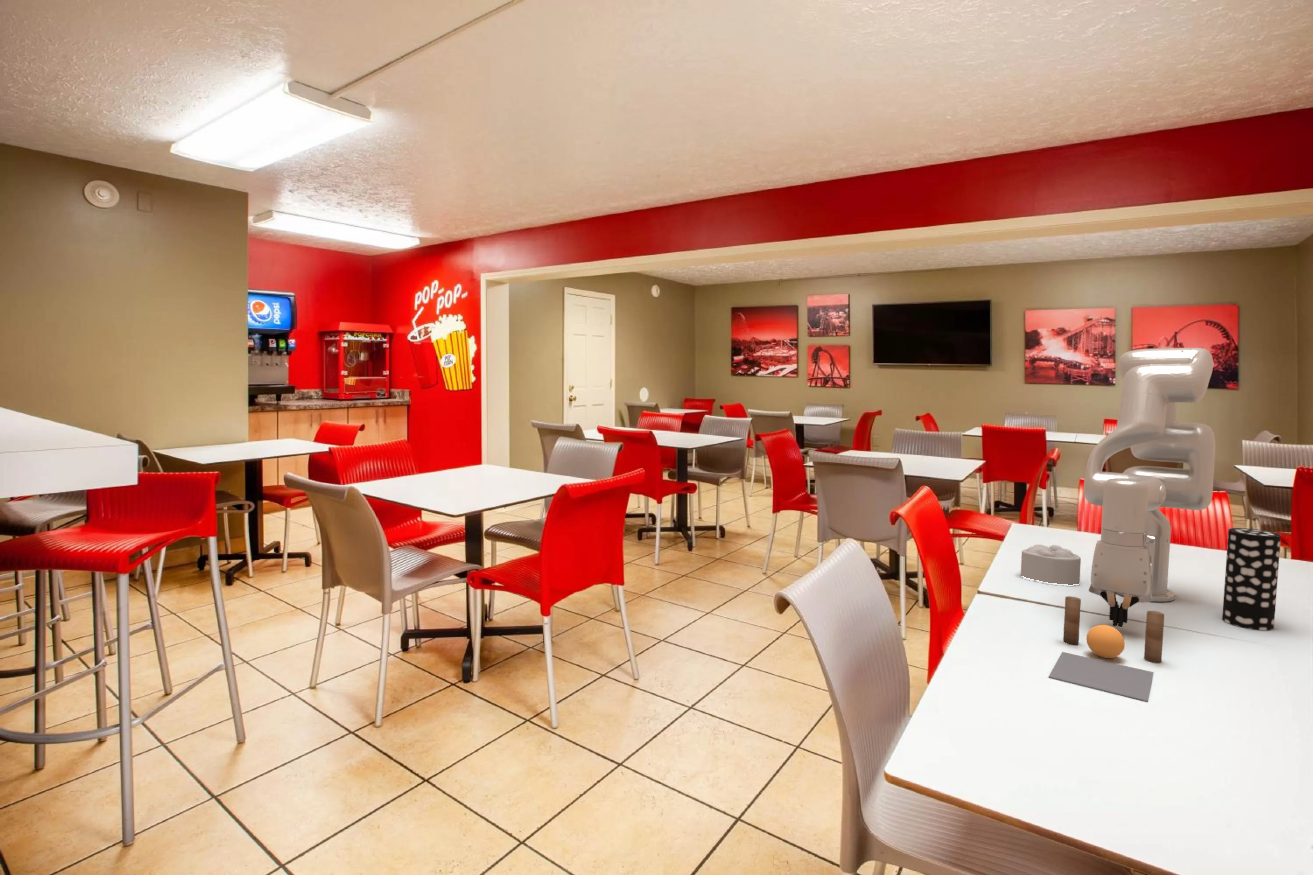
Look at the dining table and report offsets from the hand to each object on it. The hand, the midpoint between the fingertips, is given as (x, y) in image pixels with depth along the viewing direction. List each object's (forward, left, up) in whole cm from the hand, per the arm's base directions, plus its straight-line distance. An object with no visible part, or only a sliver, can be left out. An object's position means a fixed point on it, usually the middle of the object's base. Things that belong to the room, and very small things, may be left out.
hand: (1117, 624), depth 137 cm
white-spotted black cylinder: (-24, +21, -2) cm, 32 cm away
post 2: (+13, +7, -2) cm, 15 cm away
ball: (+17, 0, +2) cm, 17 cm away
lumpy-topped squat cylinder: (-34, -17, -2) cm, 38 cm away
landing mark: (+27, 0, -2) cm, 27 cm away
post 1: (+13, -7, -2) cm, 15 cm away
